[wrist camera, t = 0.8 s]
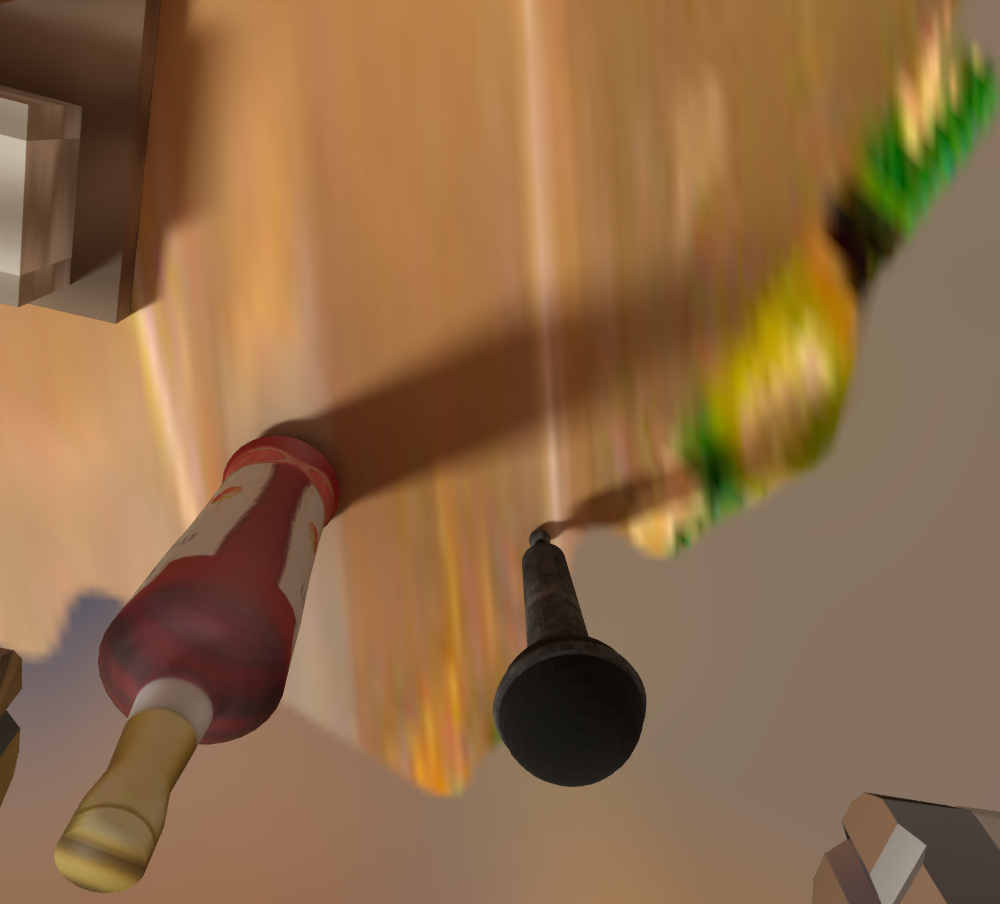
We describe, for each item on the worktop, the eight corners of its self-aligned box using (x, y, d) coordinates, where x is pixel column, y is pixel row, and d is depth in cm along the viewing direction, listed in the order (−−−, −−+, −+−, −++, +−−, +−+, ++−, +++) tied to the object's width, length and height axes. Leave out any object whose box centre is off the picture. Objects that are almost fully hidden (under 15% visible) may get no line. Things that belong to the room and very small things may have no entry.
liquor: (256, 402, 49) (22, 724, 23) (367, 461, 51) (267, 823, 25) (204, 500, 51) (-63, 896, 25) (312, 553, 53) (166, 976, 27)
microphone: (585, 585, 55) (648, 827, 36) (480, 579, 54) (488, 820, 35) (599, 489, 52) (675, 695, 33) (489, 481, 52) (503, 687, 33)
